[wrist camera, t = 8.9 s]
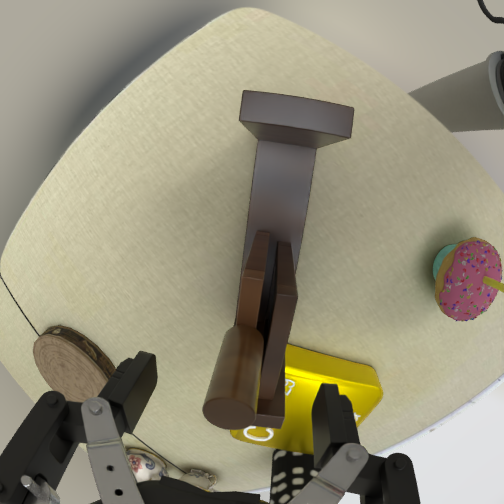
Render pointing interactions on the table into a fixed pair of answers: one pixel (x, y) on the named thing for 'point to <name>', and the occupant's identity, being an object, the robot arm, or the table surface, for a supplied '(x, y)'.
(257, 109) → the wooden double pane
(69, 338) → the brown flat banded disc
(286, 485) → the spotted tube
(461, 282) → the cupcake
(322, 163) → the table surface
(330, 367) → the element tile
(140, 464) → the chinaware
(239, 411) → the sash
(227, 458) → the table surface
